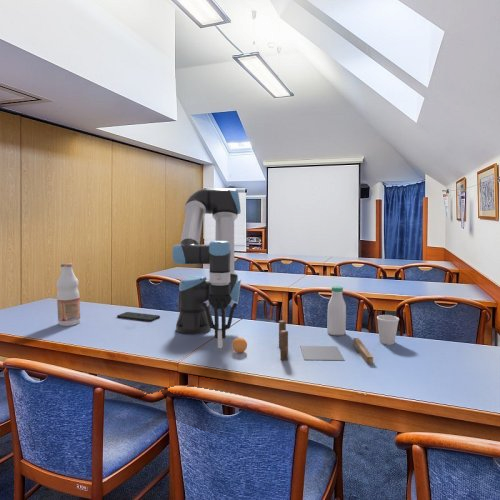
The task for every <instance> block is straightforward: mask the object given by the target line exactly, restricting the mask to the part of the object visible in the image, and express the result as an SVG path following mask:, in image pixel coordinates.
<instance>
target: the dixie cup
mask: <svg viewBox="0 0 500 500" xmlns="http://www.w3.org/2000/svg"><path fill="white" fill-rule="evenodd" d="M376 319H377V328H378V329H377V330H378V340H379V343H380V344H383V345H389V346H390V345H391V346H392V345H394V344H395V342H396V337H397V331H398V325H399V321H400V318H399V317H397V316H395V315H391V314H381V315H377V316H376Z"/></svg>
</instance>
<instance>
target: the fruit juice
mask: <svg viewBox="0 0 500 500" xmlns="http://www.w3.org/2000/svg"><path fill="white" fill-rule="evenodd" d="M73 265H74V264H73V263H72V262H67V263H66V262H65V263H61V264H60V267H61V271H60V274H59V277H58V279H57V280H56V287H57V292H56V301H57V302H56V303H57V322H58V325H59V326H61V327H69V326H77V325H79V324H80V323H81V303H80V299H81V298H80V291H79V288H78V287H79V279H78V278H77V276H76V275H75V273H74V270H73V267H74V266H73Z"/></svg>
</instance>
